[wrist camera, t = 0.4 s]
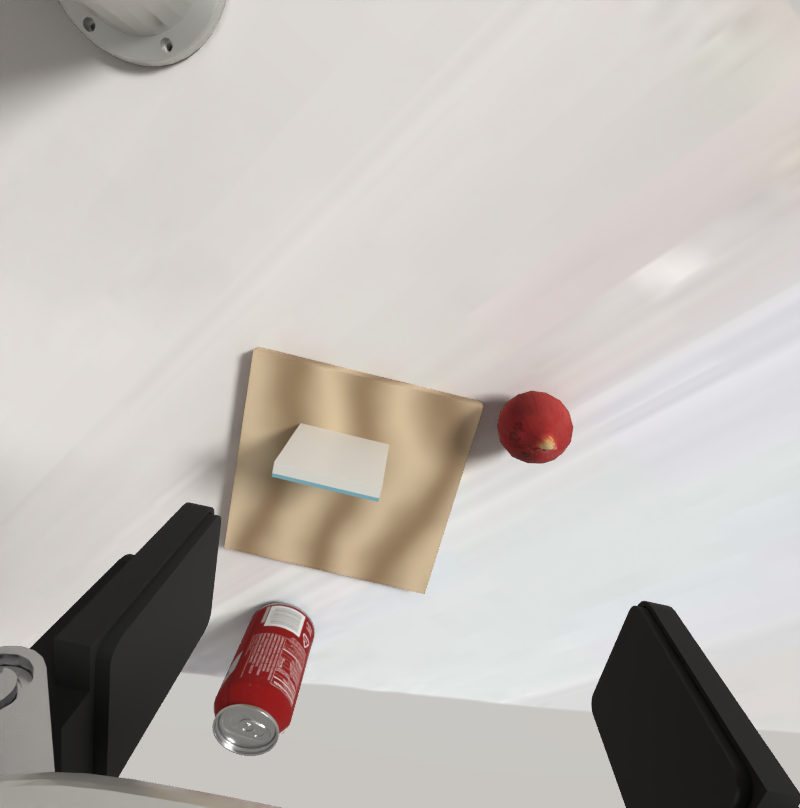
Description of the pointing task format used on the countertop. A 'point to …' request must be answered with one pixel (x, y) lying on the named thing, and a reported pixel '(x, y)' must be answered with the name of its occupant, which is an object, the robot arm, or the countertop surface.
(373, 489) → the tile
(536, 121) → the countertop surface
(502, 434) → the onion
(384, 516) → the board
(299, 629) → the soda can
